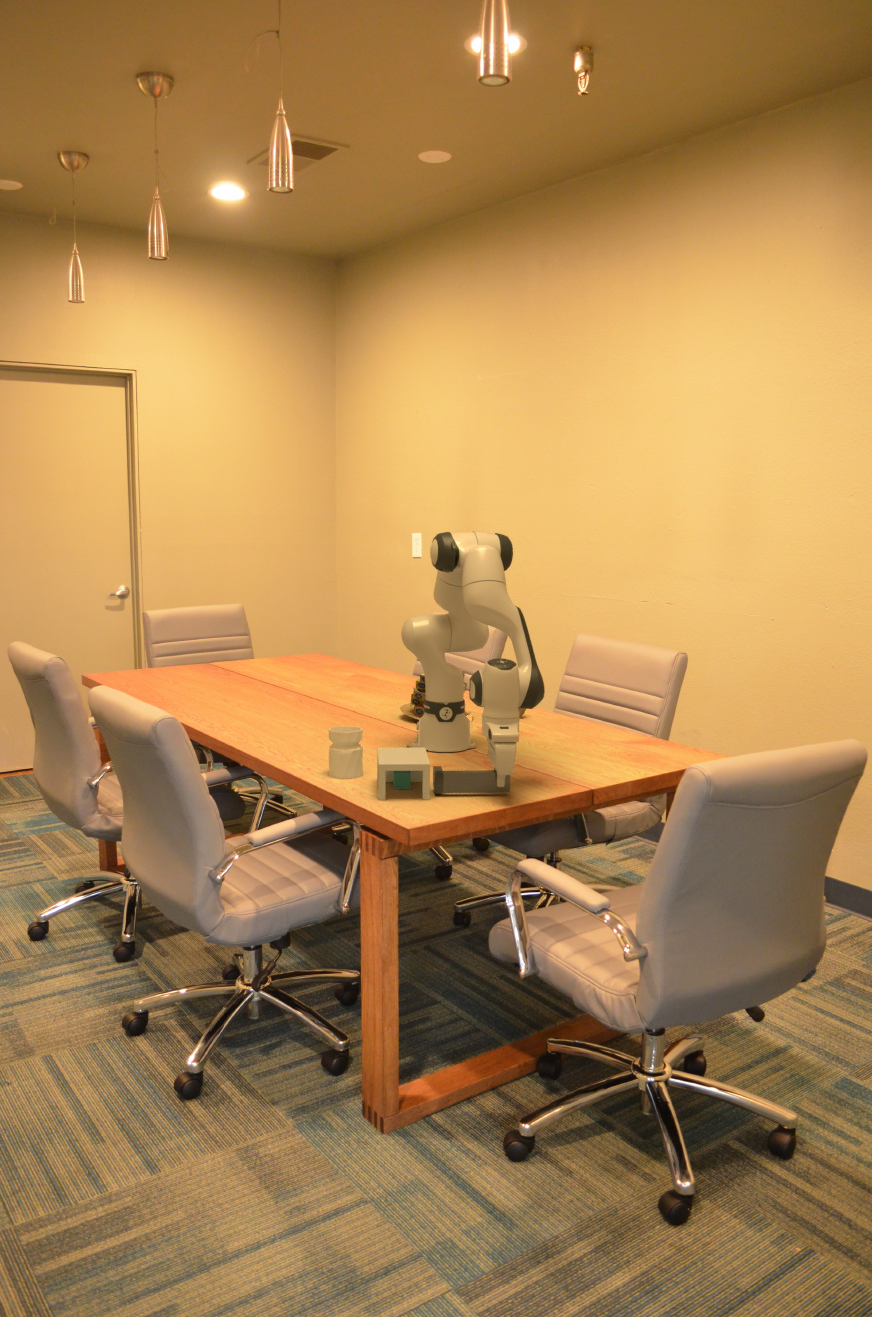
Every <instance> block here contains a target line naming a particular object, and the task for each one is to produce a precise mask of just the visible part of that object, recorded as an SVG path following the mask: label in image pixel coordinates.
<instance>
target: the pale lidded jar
mask: <svg viewBox="0 0 872 1317" xmlns="http://www.w3.org/2000/svg"><path fill="white" fill-rule="evenodd" d="M363 731H364V730H363V728H362V727H359V726H353V725H340V726H339V725H337V726H333V727H330V728H329V729H328V740H329V741H330V742H331V743H332V744H331V745H329V748H328V768H329V773H328V774H329V777H330V776H331V777H330V778H333V777H334V778H333V779H337V778H340V780H353V779H352V778H354V779H357V778H358V777H359V778H361V777H362V776H363V774H364V769H363V768H364V765H363V756H364V749H363V746H362V745H361V744H360V742H362V740H363ZM360 776H361V777H360Z"/></svg>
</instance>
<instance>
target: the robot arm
mask: <svg viewBox="0 0 872 1317" xmlns="http://www.w3.org/2000/svg"><path fill="white" fill-rule="evenodd" d="M513 549H514V548H513V543H512V541H511V539H510V538H509V536H508V535H505V534H502V533H499V532H496V533H495V532H494V533H490V532H484V531H458V532H457V531H456V532H450V531H445V532H440V533H437V534H436V535H435V536H434V537H433V539H432V542H431V545H430V548H429V554H430V561H431V564H432V566H433V567H434V569H435V570H437V572H436V577H435V583H434V588H433V598H434V601H435V603H436V604H437V605H438V606H439V607H440V608H441V609H442V610H445V612H448V613H444V614H443V613H441V614H438V613H437V614H420V615H416V616H415V615H414V616H411V617H408V618H407V619H406V620H405V621H404V623H403V625H402V628H401V632H400V633H401V634H400V636H401V640H402V643H403V646H405V648H406V649H407V650H408V651H409V652H411V653H412V654H413V655H414V656H415V657H416V658H417V660H418V661H419V663H420V665H421V667H422V669H423V673H424V674H425V688H426V699H425V700H424V712H425V713H424V715H423V716H422V717H421V719H418V721H417V722H416V731H417V733H416V737H415V738H414V740H413V741H412V742H411V746H412V747H414V748H425V749H426V751H427V750H428V751H429V752H435V753H436V752H438V753H452V752H453V753H454V752H463V751H465V750H469V749H475V748H476V747H477V743H476V742H474V741H472V740H471V722H470V720H469V719H468V718H467V717H466V716H465V714H464V712H466V701H465V699H464V693H465V692H464V683H465V676H463V673H462V672H461V670H462V669H460V668H458V666H455V665H453V664H451V663H449V662H447V660H446V653H467V652H473V651H476V650H480V649H483V648H484V647H485V646H486V644H487V642H488V640H489V636H490V629H489V627H493V628H495V629H497V630H499V631H501V632H503V633H505V635H507V636H508V637H509V640H511V643H512V647H513V651H514V655H515V659H516V662H515V661H514V660H512V659H508V658H503V657H502V658H500V657H499V658H492V659H489V660H487V661H486V663H485V666H484V668H483V669H478V670H476V671H475V672H474V673H473V674H472V675H471V676H470V678H469V693H468V694H469V700H471V702H472V703H473V704H474V705H475V706H477V708H478V707H480V708H483V710H482V714H481V716H482V717H481V725H482V726H481V735H482V736H484V737H486V742H487V757H488V759H489V760H490V762H491V764H492V767H493V770H496V771H497V778H496V784H497V786H498V787H504V785H505V777H506V775H510V776H511V775H513V773H514V771H515V763H516V755H517V754H516V753H517V743H519V741H520V717H519V711H518V708H523V709H526V710H533V709H534V708H536V707H537V706H538V705H539V704H541V703H542V700H544V698H545V693H546V692H545V683H544V679H543V676H542V673H541V671H540V668H539V666H538V662H537V659H536V654H535V652H534V647H533V643H532V640H531V637H530V632H529V629H528V626H527V622H526V619H525V616H524V613H523V611H522V610H521V608H520V607H518V606H517V605H515V604H514V603H513V601H512V599H511V598H510V597H511V596H510V595H509V593H508V589H507V581H506V580H507V579H506V574H505V573H506V571H507V570H508V569H509V568H510V567H511V565H512V562H513V558H514V550H513Z"/></svg>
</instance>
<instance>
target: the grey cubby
mask: <svg viewBox="0 0 872 1317" xmlns="http://www.w3.org/2000/svg"><path fill="white" fill-rule="evenodd" d="M376 752H377V754H376V755H377V757H376V758H377V763H376V764H377V765H376V766H377V767H376V768H377V772H376V776H377V778H376V779H377V780H376V782H377V783H378V785H377V786H378V787H377V788H378V792H377V796H378V801H386V783H394V771H410V772H411V782H410V783H422V800H426V801H427V800H428V801H429V800H430V799H431V798H430V797H431V796H430V794H431V792H430V790H431V789H430V788H431V763H430V759H429V756H428V753H427V750H426V749H425V748H406V747H377V751H376Z"/></svg>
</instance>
